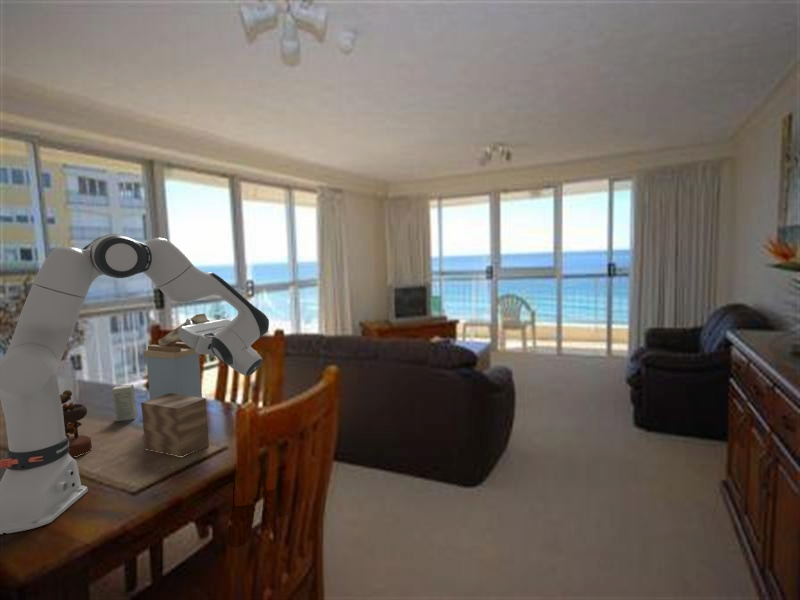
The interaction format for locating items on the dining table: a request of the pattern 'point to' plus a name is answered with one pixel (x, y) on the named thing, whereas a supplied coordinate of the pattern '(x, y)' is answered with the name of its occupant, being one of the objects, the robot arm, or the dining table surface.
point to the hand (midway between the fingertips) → (194, 319)
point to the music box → (74, 425)
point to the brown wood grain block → (175, 424)
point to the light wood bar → (173, 335)
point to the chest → (173, 370)
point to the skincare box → (124, 402)
